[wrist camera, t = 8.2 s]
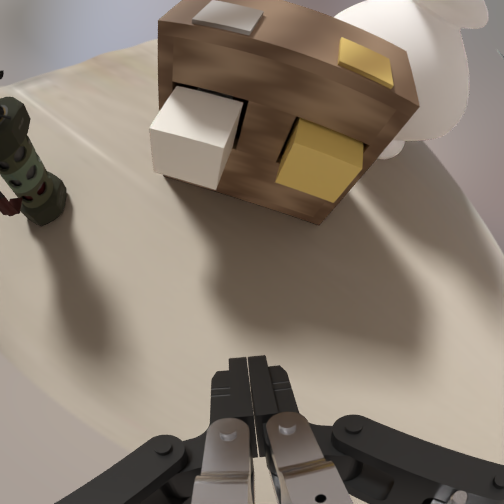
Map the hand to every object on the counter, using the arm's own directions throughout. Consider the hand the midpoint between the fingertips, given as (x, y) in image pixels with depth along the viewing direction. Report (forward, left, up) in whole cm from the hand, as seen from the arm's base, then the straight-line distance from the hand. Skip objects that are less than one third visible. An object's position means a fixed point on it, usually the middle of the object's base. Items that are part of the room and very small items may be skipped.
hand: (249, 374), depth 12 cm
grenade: (-20, +8, -12) cm, 24 cm away
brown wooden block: (-2, +18, -11) cm, 21 cm away
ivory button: (-6, +14, -5) cm, 16 cm away
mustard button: (+2, +16, -5) cm, 16 cm away
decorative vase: (+9, +32, -12) cm, 35 cm away
